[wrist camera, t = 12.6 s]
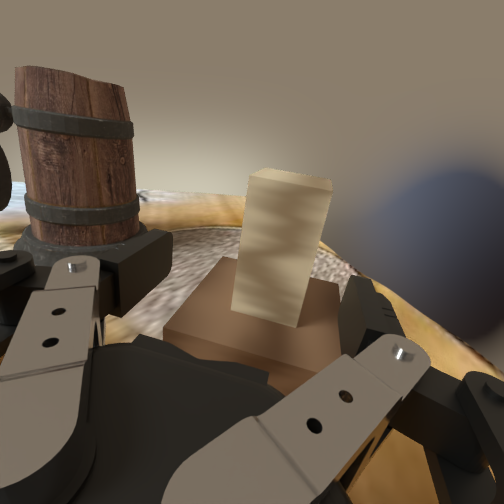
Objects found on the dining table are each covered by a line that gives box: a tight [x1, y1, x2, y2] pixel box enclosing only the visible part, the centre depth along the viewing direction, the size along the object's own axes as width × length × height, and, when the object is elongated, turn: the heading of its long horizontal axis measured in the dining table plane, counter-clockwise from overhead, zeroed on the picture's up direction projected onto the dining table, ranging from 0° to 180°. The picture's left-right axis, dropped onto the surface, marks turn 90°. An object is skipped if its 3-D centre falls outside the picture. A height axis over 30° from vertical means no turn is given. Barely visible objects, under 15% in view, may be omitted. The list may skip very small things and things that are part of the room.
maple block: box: [231, 168, 333, 328], centre depth 20 cm, size 5×5×10 cm
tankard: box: [0, 66, 148, 267], centre depth 34 cm, size 24×17×20 cm
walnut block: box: [163, 256, 341, 396], centre depth 23 cm, size 12×12×5 cm
